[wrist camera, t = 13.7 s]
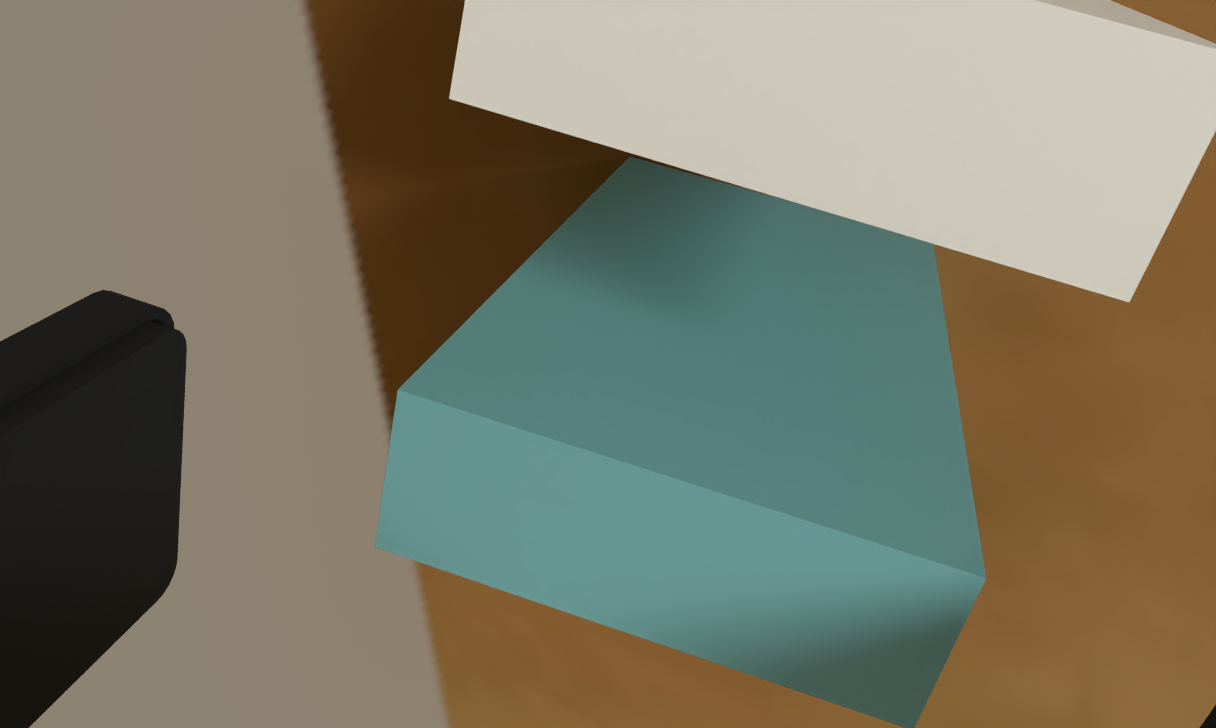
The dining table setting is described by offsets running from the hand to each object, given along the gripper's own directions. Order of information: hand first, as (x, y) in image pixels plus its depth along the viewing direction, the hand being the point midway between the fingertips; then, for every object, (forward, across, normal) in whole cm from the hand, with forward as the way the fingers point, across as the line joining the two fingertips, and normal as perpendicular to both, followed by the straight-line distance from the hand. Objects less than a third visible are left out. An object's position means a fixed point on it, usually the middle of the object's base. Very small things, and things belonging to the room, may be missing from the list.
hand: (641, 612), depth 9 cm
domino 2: (+12, 0, +1) cm, 12 cm away
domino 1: (+12, 0, -4) cm, 13 cm away
